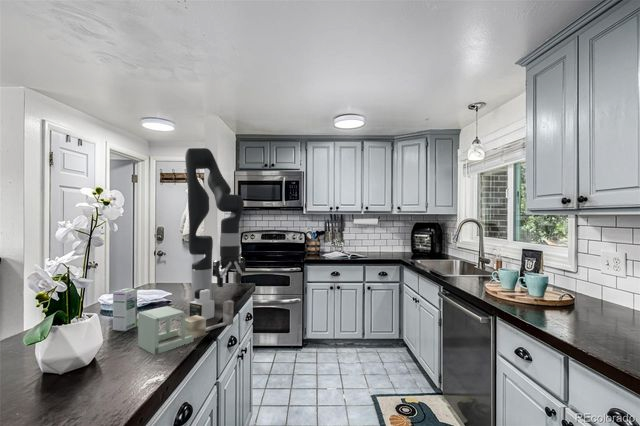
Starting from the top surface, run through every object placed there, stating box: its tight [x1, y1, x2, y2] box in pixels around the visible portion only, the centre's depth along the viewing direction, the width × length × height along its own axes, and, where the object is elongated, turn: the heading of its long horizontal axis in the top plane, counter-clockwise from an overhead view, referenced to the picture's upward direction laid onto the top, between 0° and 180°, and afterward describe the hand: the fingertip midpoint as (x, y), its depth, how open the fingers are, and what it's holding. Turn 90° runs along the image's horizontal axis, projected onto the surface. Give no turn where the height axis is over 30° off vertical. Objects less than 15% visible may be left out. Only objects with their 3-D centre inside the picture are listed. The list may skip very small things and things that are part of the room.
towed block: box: [185, 299, 234, 340], centre depth 121 cm, size 19×6×9 cm, turn 143°
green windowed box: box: [137, 305, 194, 356], centre depth 107 cm, size 13×11×11 cm
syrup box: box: [112, 288, 138, 332], centre depth 122 cm, size 6×6×14 cm
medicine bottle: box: [189, 289, 215, 321], centre depth 135 cm, size 7×7×12 cm
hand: (229, 285), depth 128 cm, fingers open, 8 cm apart
